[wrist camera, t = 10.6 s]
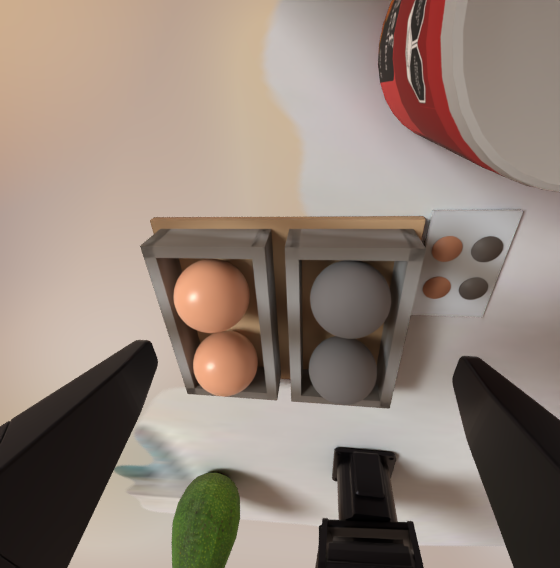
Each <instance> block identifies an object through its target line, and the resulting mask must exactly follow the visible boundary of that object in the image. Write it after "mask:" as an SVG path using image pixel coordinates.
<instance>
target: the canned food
mask: <svg viewBox="0 0 560 568" xmlns="http://www.w3.org/2000/svg"><path fill="white" fill-rule="evenodd" d="M378 68H379V76H380V84H381V87H382V90H383V93H384V97H385V100H386V102H387V103H388V105H389V107H390V109H391V111H392V112H393V114H394V115H395V116H396V117H397V118H398V120H399V121H400V122H401V123H402V124H403V125H404V126H406V127H407V128H408V129H410V130H411V131H413V132H414V133H416V134H418V135H420V136H422V137H424V138H426V139H428V140H430V141H432V142H434V143H436V144H438V145H440V146H442V147H444V148H446V149H448V150H450V151H452V152H453V153H455V154H457V155H459V156H461V157H463V158H465V159H467V160H469V161H471V162H473V163H475V164H477V165H479V166H481V167H483V168H485V169H488V170H490V171H493V172H495V173H497V174H499V175H501V176H504V177H506V178H509V179H511V180H514V181H516V182H519V183H522V184H524V185H527V186H531V187H537V188H540V189H543V190H550V191H556V192H560V0H392V1H391V4H390V7H389V9H388V12H387V15H386V18H385V20H384V23H383V28H382V33H381V38H380V43H379V57H378Z"/></svg>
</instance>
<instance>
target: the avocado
mask: <svg viewBox="0 0 560 568" xmlns="http://www.w3.org/2000/svg"><path fill="white" fill-rule="evenodd" d="M239 520H240V497H239V493H238V489H237V487H236V485H235V483H234V482H233V481H232V480H231V479H230V478H229V477H227V476H225V475H222V474H219V473H206V474H203V475H201V476H198V477H197V478H196V479H194V480H193V481H192V482H191V484H190V485H189V486H188V487H187V488H186V490H185V492H184V494H183V495H182V497H181V499H180V501H179V502H178V505H177V509H176V512H175V516H174V520H173V527H172V567H173V568H225V565H226V562H227V560H228V557H229V555H230V552H231V550H232V547H233V544H234V542H235V539H236V536H237V530H238V526H239Z"/></svg>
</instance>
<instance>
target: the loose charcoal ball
mask: <svg viewBox="0 0 560 568" xmlns="http://www.w3.org/2000/svg"><path fill="white" fill-rule="evenodd" d="M310 304H311V309H312V312H313V315H314V317H315V318H316V320H317V322H318V323H319V324H320V325H321V326H322V327H323V328H324V329H325V330H326V331H328V332H329V333H331V334H333V335H335V336H337V337H341V338H346V339H356V338H362V337H365V336H367V335H369V334H371V333H373V332H374V331H376V330H377V329H378V328H379V327H380V326H381V325H382V324H383V323H384V321H385V320H386V318H387V316H388V314H389V310H390V306H391V293H390V289H389V286H388V284H387V282H386V280H385V278H384V277H383V275H382V274H381V273H380V272H379V271H378V270H377V269H376V268H374V267H373V266H371V265H369V264H367V263H365V262H362V261H357V260H343V261H339V262H336V263H333V264H331V265H330V266H328V267H326V268H325V269H324V270H323V271H322V272H321V273H320V274H319V275H318V276H317V278H316V279H315V281H314V283H313V286H312V289H311V294H310Z"/></svg>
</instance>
